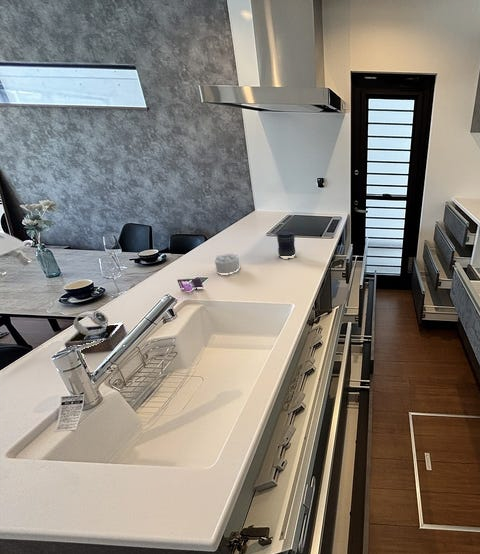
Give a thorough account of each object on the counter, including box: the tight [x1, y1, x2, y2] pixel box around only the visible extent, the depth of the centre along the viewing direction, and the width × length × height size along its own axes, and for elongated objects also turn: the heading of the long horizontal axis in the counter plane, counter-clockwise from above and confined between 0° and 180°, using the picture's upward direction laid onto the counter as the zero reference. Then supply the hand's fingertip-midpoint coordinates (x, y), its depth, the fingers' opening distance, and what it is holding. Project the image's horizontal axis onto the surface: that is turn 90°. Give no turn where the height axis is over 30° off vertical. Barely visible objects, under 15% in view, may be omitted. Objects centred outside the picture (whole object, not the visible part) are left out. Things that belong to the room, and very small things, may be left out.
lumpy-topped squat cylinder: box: [214, 253, 241, 278], centre depth 156 cm, size 10×13×9 cm
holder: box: [64, 322, 127, 354], centre depth 99 cm, size 12×10×4 cm
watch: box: [73, 310, 109, 340], centre depth 98 cm, size 6×8×11 cm
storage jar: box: [276, 229, 296, 256], centre depth 179 cm, size 10×10×15 cm
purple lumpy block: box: [176, 277, 204, 292], centre depth 134 cm, size 7×5×9 cm
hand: (17, 269), depth 86 cm, fingers open, 8 cm apart
